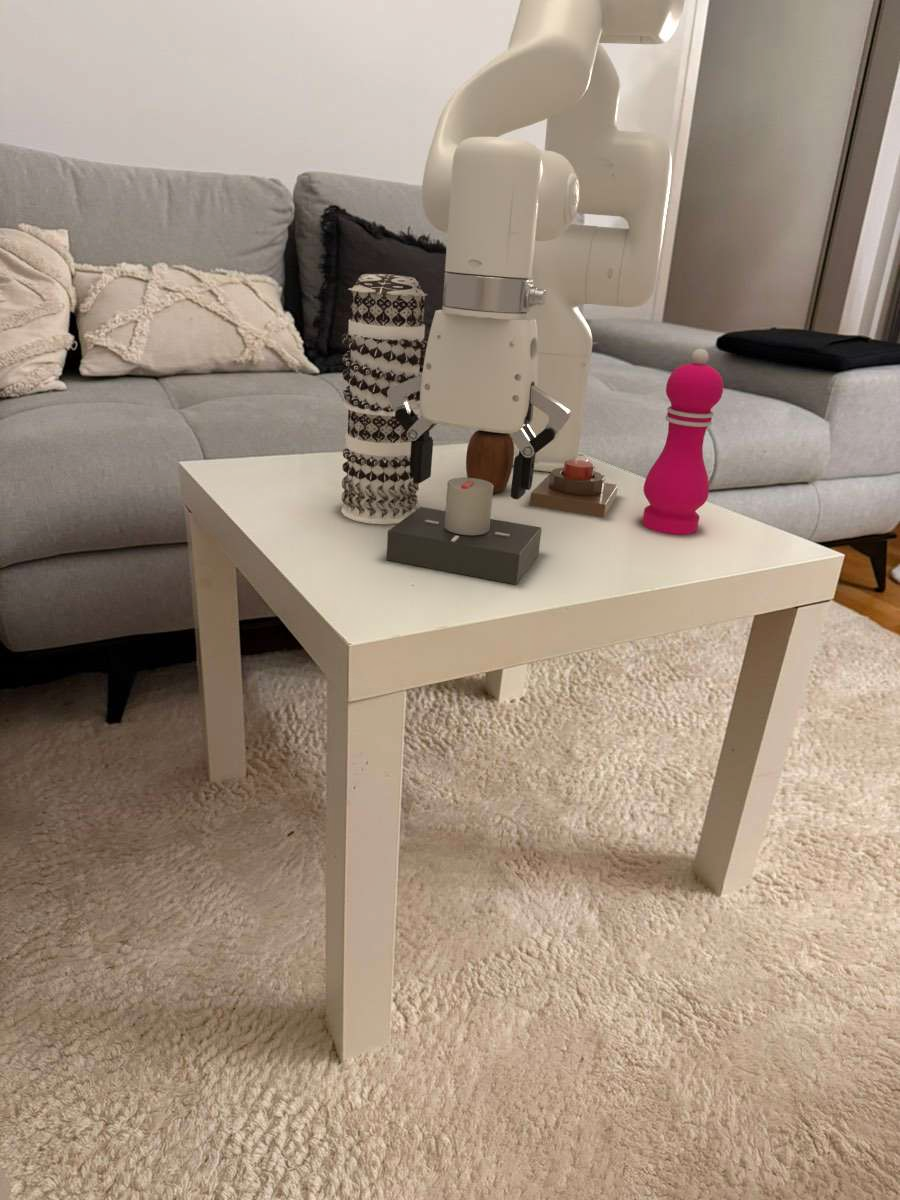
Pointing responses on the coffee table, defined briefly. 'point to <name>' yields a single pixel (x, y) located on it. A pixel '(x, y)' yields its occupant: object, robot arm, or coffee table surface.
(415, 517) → the panel
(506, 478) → the wooden figurine
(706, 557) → the coffee table surface
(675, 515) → the pepper mill
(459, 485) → the knob
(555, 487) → the button block
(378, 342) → the decorative candle
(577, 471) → the button
